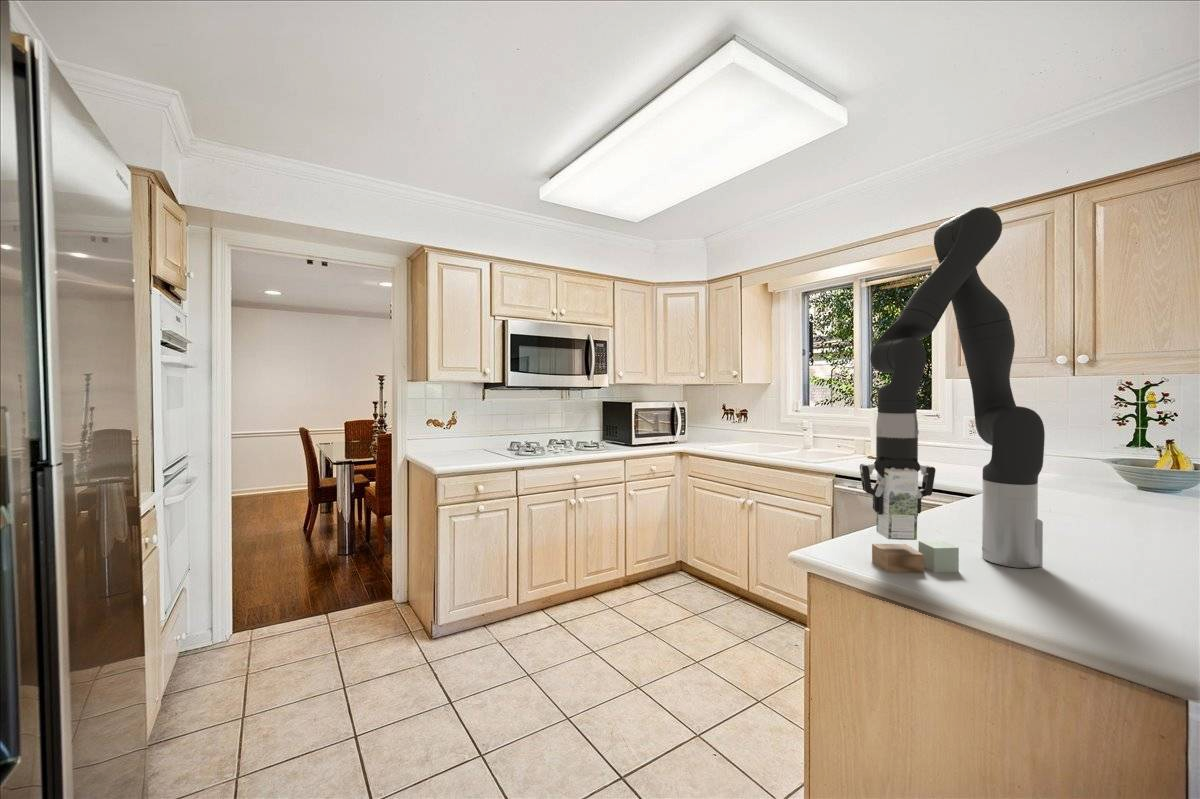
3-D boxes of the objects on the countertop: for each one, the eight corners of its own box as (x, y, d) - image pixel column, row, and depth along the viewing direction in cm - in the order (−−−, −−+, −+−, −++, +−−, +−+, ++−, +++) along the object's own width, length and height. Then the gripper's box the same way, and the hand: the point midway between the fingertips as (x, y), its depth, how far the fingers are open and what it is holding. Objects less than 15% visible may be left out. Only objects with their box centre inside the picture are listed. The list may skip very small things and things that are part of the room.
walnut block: (905, 562, 111) (905, 544, 111) (923, 574, 104) (923, 554, 104) (872, 562, 111) (872, 543, 111) (887, 573, 104) (887, 554, 104)
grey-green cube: (941, 563, 109) (941, 540, 109) (958, 572, 104) (958, 547, 104) (918, 564, 109) (918, 540, 109) (934, 572, 104) (934, 548, 104)
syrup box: (903, 532, 110) (904, 465, 110) (918, 541, 104) (918, 469, 104) (876, 532, 111) (876, 465, 110) (888, 540, 105) (888, 469, 104)
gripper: (928, 433, 109) (928, 512, 109) (854, 432, 112) (854, 508, 113) (943, 436, 102) (942, 521, 102) (863, 435, 105) (863, 517, 105)
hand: (896, 514), depth 107 cm, fingers closed on syrup box, 6 cm apart
